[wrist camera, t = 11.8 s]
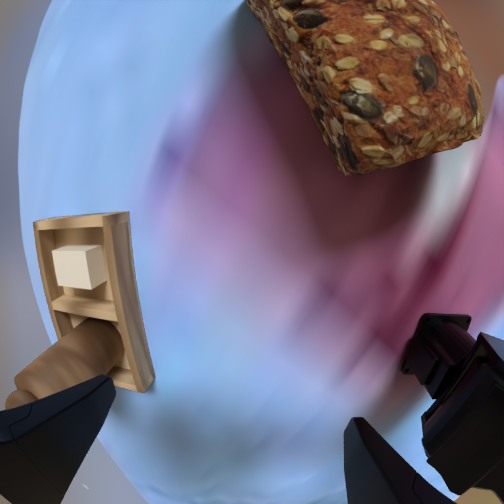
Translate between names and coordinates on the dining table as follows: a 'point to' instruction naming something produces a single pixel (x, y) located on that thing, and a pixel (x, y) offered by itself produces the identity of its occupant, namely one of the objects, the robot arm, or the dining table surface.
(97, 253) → the block
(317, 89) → the bread
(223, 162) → the dining table surface
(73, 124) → the dining table surface
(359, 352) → the dining table surface
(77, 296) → the caddy
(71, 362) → the pepper mill
